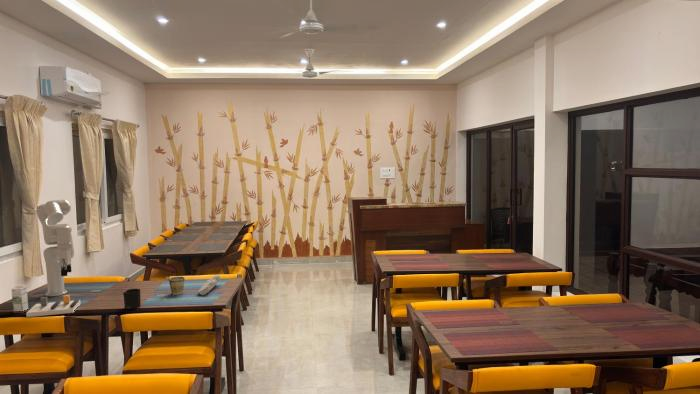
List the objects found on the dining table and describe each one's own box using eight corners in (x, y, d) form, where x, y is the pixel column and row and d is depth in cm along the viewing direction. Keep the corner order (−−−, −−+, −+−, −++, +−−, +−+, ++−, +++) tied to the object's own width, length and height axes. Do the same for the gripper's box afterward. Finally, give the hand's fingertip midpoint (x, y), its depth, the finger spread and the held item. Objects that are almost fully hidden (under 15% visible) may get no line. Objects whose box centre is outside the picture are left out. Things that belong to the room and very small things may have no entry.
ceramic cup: (180, 295, 325) (179, 280, 324) (166, 295, 327) (165, 280, 326) (190, 290, 338) (189, 275, 337) (176, 289, 340) (176, 275, 339)
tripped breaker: (64, 302, 304) (64, 295, 304) (70, 302, 305) (69, 294, 304) (63, 303, 302) (63, 296, 301) (69, 303, 302) (68, 295, 302)
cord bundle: (57, 302, 305) (57, 299, 305) (79, 300, 309) (79, 297, 308) (50, 310, 291) (50, 306, 291) (73, 308, 294) (73, 304, 294)
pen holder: (121, 307, 302) (120, 290, 302) (137, 303, 309) (136, 287, 308) (127, 310, 296) (126, 293, 295) (143, 307, 302) (142, 290, 301)
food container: (223, 279, 353) (219, 272, 352) (212, 294, 323) (207, 286, 322) (209, 286, 353) (205, 279, 353) (196, 301, 324) (191, 294, 323)
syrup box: (28, 309, 301) (27, 285, 300) (22, 312, 296) (21, 288, 294) (19, 309, 301) (17, 285, 300) (12, 312, 295) (11, 288, 294)
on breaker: (42, 304, 301) (41, 297, 300) (47, 304, 301) (47, 296, 301) (40, 305, 298) (40, 298, 298) (46, 305, 299) (46, 297, 299)
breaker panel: (36, 307, 304) (36, 303, 304) (80, 303, 311) (80, 299, 311) (26, 317, 287) (26, 312, 287) (73, 312, 294) (73, 308, 293)
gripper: (61, 244, 311) (63, 271, 312) (53, 249, 294) (55, 278, 296) (75, 243, 313) (76, 270, 314) (67, 248, 296) (69, 277, 298)
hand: (66, 274), depth 305 cm, fingers open, 9 cm apart
